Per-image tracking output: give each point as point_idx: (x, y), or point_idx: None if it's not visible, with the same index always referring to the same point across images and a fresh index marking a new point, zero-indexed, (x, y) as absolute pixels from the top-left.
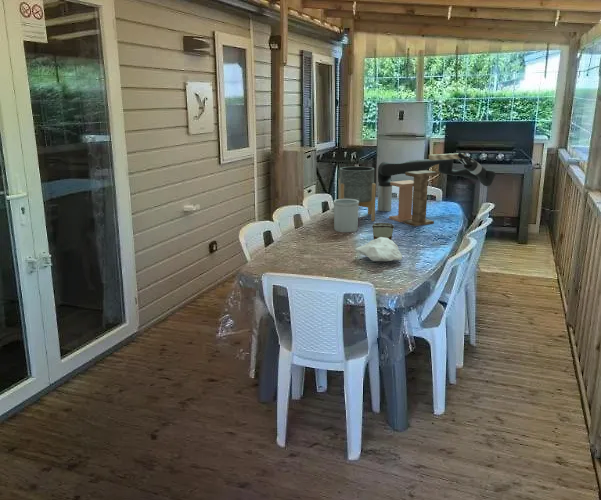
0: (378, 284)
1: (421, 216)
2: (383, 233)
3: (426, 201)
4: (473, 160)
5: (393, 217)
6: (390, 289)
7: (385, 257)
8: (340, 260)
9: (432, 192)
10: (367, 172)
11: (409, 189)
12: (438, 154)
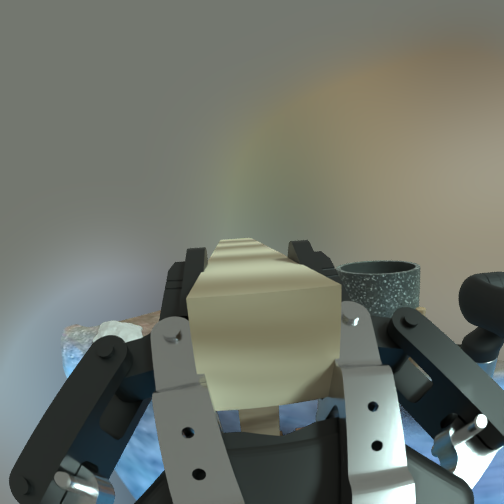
0: (85, 327)
1: None
2: None
3: (240, 423)
4: (21, 476)
5: None
6: (74, 327)
7: (99, 328)
8: (147, 330)
9: None
10: (340, 276)
11: None
12: (246, 241)
